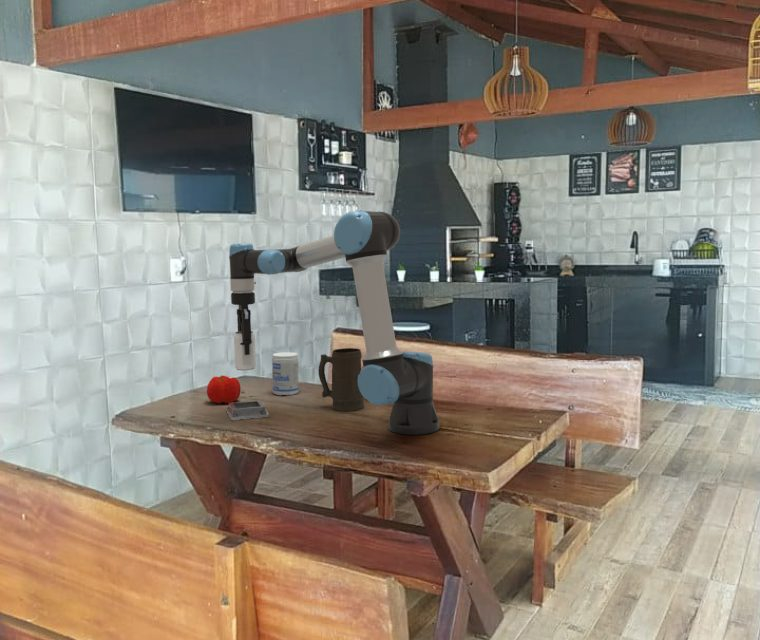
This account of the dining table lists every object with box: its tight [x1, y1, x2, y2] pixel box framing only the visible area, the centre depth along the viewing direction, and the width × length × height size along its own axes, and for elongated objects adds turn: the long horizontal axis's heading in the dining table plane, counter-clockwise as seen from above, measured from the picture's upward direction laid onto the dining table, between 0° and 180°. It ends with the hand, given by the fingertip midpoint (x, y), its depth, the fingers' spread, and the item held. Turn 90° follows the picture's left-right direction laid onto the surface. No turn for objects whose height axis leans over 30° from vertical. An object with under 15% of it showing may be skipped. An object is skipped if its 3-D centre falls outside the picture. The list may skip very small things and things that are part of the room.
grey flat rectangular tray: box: [225, 399, 270, 421], centre depth 236 cm, size 14×12×3 cm
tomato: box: [206, 375, 242, 404], centre depth 253 cm, size 11×12×9 cm
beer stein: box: [317, 347, 365, 412], centre depth 242 cm, size 15×11×20 cm
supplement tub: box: [271, 351, 300, 396], centre depth 266 cm, size 10×10×15 cm
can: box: [233, 330, 257, 371], centre depth 234 cm, size 6×6×12 cm
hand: (245, 362), depth 234 cm, fingers closed on can, 6 cm apart
